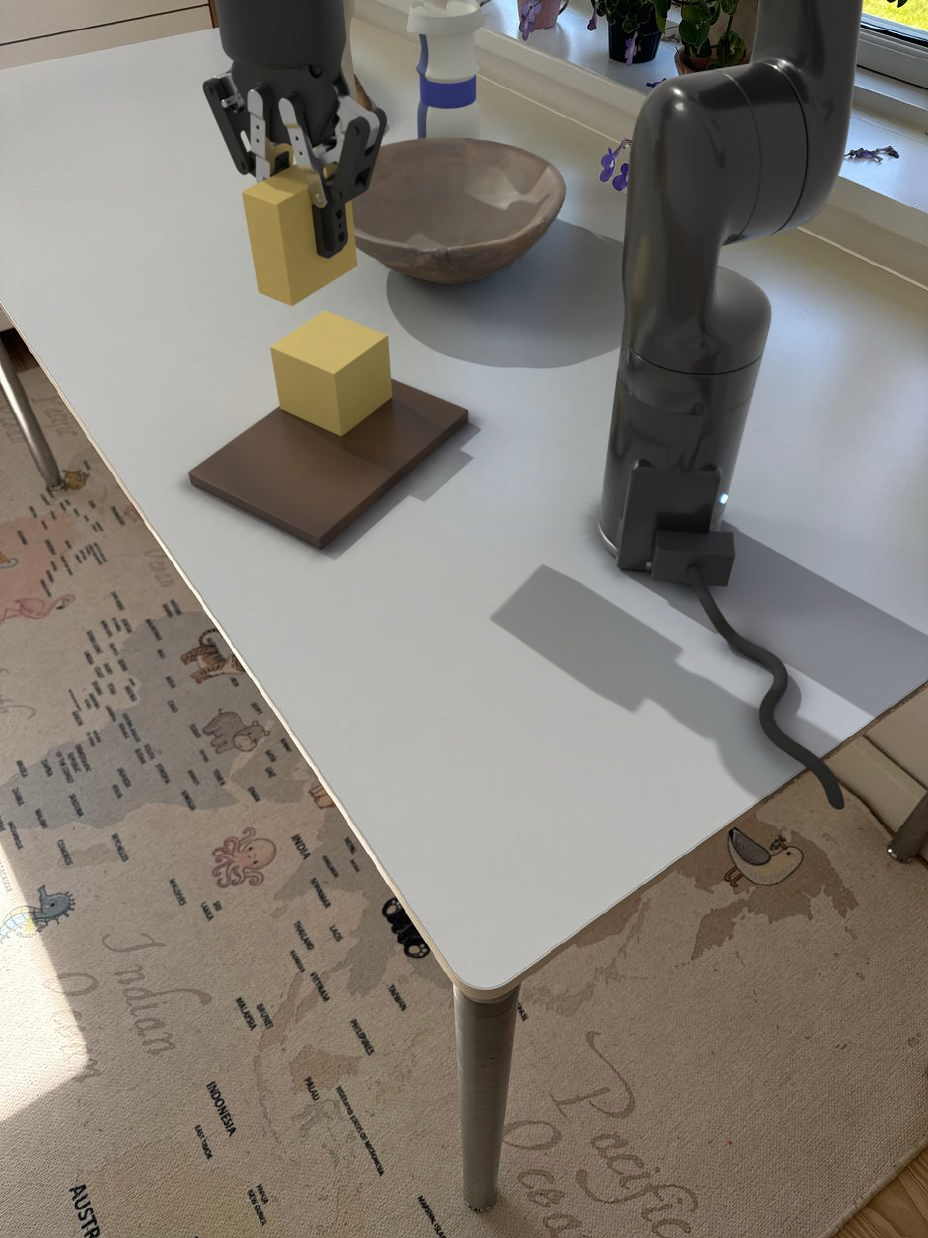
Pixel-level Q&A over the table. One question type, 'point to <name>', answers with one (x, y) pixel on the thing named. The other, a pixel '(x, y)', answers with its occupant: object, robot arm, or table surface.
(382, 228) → the bowl
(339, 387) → the butter block
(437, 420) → the butter board
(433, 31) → the water bottle
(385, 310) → the table surface
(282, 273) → the butter slice
